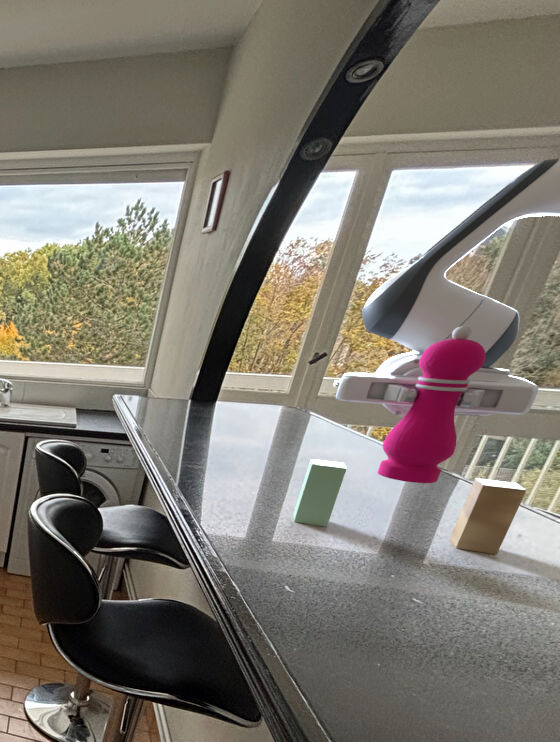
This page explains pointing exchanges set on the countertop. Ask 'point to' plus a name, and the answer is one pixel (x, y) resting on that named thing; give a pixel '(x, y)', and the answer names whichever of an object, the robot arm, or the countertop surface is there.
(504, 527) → the maple block
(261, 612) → the countertop surface
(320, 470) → the sage block
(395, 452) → the pepper mill
